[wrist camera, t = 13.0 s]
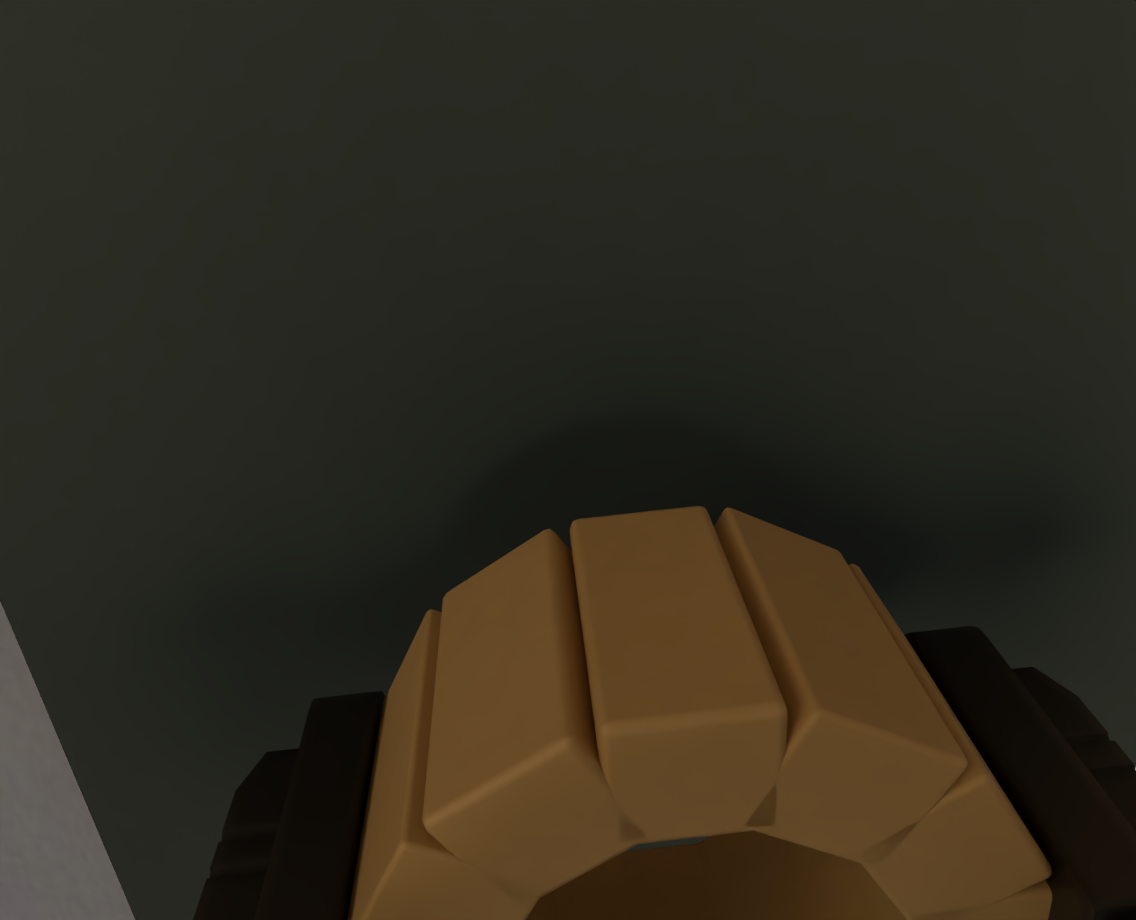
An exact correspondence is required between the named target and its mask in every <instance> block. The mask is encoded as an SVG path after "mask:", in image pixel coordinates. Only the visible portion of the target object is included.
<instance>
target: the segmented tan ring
mask: <svg viewBox="0 0 1136 920" xmlns="http://www.w3.org/2000/svg"><path fill="white" fill-rule="evenodd" d="M570 539H571V549H572V552H571V551H570V549H569V548H568V547H567V546H566V545H565V543H564V542H563V541H562V540H561V539H560V537H559V536H558V535H557V534H556V533H555V532H554V531H552V530H551V529H546V530H543V531H542V532H540V533H539V534H537V535H536V536H534V537H533V538H531V539H529V540H528V541H526V542H525V543H523V544H522V545H520V546H519V547H517V548H515V549H514V550H512V551H511V552H509V553H508V554H506V555H505V556H503V557H502V558H500V559H498V560H497V561H495V562H494V563H492V564H491V565H489V566H488V567H486V568H484V569H483V570H481V571H480V572H478V573H477V574H475V575H474V576H472V577H470V578H469V579H467V580H466V581H464V582H463V583H461V584H460V585H458V586H456V587H455V588H453V589H452V590H450V591H449V592H447V593H446V595H445V596H444V598H443V603H442V612H439V611H436V610H433V609H430V610H429V611H428V612H427V613H426V614H425V616H424V618H423V620H422V623H421V625H420V627H419V629H418V631H417V633H416V635H415V637H414V639H413V641H412V643H411V646H410V648H409V650H408V652H407V654H406V656H405V658H404V660H403V662H402V664H401V666H400V669H399V671H398V673H397V675H396V677H395V679H394V681H393V683H392V685H391V687H390V689H389V692H388V694H387V696H386V698H385V700H384V702H383V705H382V711H381V718H380V724H379V730H378V736H377V742H376V748H375V754H374V760H373V766H372V772H371V778H370V784H369V790H368V796H367V803H366V809H365V815H364V821H363V827H362V833H361V839H360V845H359V851H358V857H357V863H356V869H355V875H354V882H353V888H352V894H351V900H350V906H349V912H348V918H347V920H1048V917H1049V913H1050V908H1051V903H1052V892H1051V890H1050V887H1049V885H1048V884H1047V882H1046V881H1045V879H1047V878H1049V877H1050V876H1051V875H1052V869H1051V865H1050V863H1049V862H1048V860H1047V859H1046V857H1045V855H1044V854H1043V852H1042V851H1041V849H1040V848H1039V846H1038V844H1037V843H1036V841H1035V840H1034V838H1033V837H1032V835H1031V833H1030V832H1029V830H1028V829H1027V827H1026V826H1025V824H1024V822H1023V821H1022V819H1021V818H1020V816H1019V815H1018V813H1017V811H1016V810H1015V808H1014V807H1013V805H1012V803H1011V802H1010V800H1009V799H1008V797H1007V796H1006V794H1005V792H1004V791H1003V789H1002V788H1001V786H1000V785H999V783H998V781H997V780H996V778H995V777H994V775H993V774H992V772H991V770H990V769H989V767H988V766H987V764H986V763H985V761H984V759H983V758H982V756H981V755H980V753H979V751H978V750H977V748H976V747H975V745H974V744H973V742H972V740H971V739H970V737H969V736H968V734H967V733H966V731H965V729H964V728H963V726H962V725H961V723H960V722H959V720H958V718H957V717H956V715H955V714H954V712H953V711H952V709H951V707H950V706H949V704H948V703H947V701H946V699H945V698H944V696H943V695H942V693H941V692H940V690H939V688H938V687H937V685H936V684H935V682H934V681H933V679H932V677H931V676H930V674H929V673H928V671H927V670H926V668H925V666H924V665H923V663H922V662H921V660H920V658H919V657H918V655H917V654H916V652H915V651H914V649H913V647H912V646H911V644H910V643H909V641H908V640H907V638H906V637H905V635H904V634H903V632H902V631H901V629H900V628H899V626H898V625H897V623H896V622H895V620H894V619H893V617H892V616H891V614H890V613H889V611H888V610H887V608H886V607H885V605H884V604H883V602H882V601H881V599H880V598H879V596H878V595H877V593H876V592H875V590H874V589H873V587H872V586H871V584H870V583H869V581H868V580H867V578H866V577H865V575H864V574H863V572H862V571H861V569H860V568H859V567H858V566H857V565H855V564H849V565H848V564H847V563H846V561H845V559H844V558H843V556H842V555H841V553H840V552H839V551H838V550H836V549H833V548H831V547H828V546H826V545H823V544H821V543H818V542H816V541H813V540H811V539H808V538H806V537H803V536H800V535H798V534H795V533H793V532H790V531H788V530H785V529H783V528H780V527H778V526H775V525H773V524H770V523H768V522H765V521H763V520H760V519H758V518H755V517H753V516H750V515H747V514H745V513H742V512H740V511H737V510H735V509H732V508H726V509H724V511H723V512H722V514H721V516H720V517H719V519H718V521H717V522H716V524H715V526H713V523H712V521H711V518H710V516H709V514H708V512H707V510H706V508H704V507H701V506H691V507H682V508H673V509H663V510H654V511H645V512H636V513H626V514H617V515H608V516H599V517H589V518H580V519H577V520H574V521H573V522H572V524H571V527H570ZM705 836H709V837H707V838H706V839H704V840H702V841H700V842H698V843H695V844H686V845H678V846H669V847H660V848H652V849H643V850H634V851H626V850H628V849H630V848H632V847H634V846H636V845H637V844H645V843H653V842H662V841H671V840H679V839H688V838H697V837H705ZM625 851H626V852H625Z"/></svg>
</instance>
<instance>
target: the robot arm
mask: <svg viewBox="0 0 1136 920" xmlns="http://www.w3.org/2000/svg"><path fill="white" fill-rule="evenodd" d="M905 637H906V638H907V640H908V641H909V643H910V644H911V646H912V647H913V649H914V651H915V652H916V654H917V655H918V657H919V658H920V660H921V662H922V663H923V665H924V666H925V668H926V670H927V671H928V673H929V674H930V676H931V677H932V679H933V681H934V682H935V684H936V685H937V687H938V688H939V690H940V692H941V693H942V695H943V696H944V698H945V699H946V701H947V703H948V704H949V706H950V707H951V709H952V711H953V712H954V714H955V715H956V717H957V718H958V720H959V722H960V723H961V725H962V726H963V728H964V729H965V731H966V733H967V734H968V736H969V737H970V739H971V740H972V742H973V744H974V745H975V747H976V748H977V750H978V751H979V753H980V755H981V756H982V758H983V759H984V761H985V763H986V764H987V766H988V767H989V769H990V770H991V772H992V774H993V775H994V777H995V778H996V780H997V781H998V783H999V785H1000V786H1001V788H1002V789H1003V791H1004V792H1005V794H1006V796H1007V797H1008V799H1009V800H1010V802H1011V803H1012V805H1013V807H1014V808H1015V810H1016V811H1017V813H1018V815H1019V816H1020V818H1021V819H1022V821H1023V822H1024V824H1025V826H1026V827H1027V829H1028V830H1029V832H1030V833H1031V835H1032V837H1033V838H1034V840H1035V841H1036V843H1037V844H1038V846H1039V848H1040V849H1041V851H1042V852H1043V854H1044V855H1045V857H1046V859H1047V860H1048V862H1049V863H1050V865H1051V869H1052V875H1051V876H1050V877H1049V878H1047V879H1045V881H1046V882H1047V884H1048V885H1049V887H1050V890H1051V892H1052V903H1051V908H1050V913H1049V917H1048V920H1136V771H1135V768H1134V763H1133V762H1132V761H1131V760H1130V758H1129V757H1128V756H1127V755H1126V754H1125V752H1124V751H1123V750H1122V749H1121V748H1120V746H1119V745H1118V744H1117V743H1116V742H1115V740H1113V741H1110V739H1109V736H1108V732H1107V731H1106V729H1105V728H1104V727H1103V726H1102V725H1101V723H1100V722H1099V721H1098V720H1097V719H1096V717H1095V716H1094V715H1093V714H1092V713H1091V711H1090V710H1089V709H1088V708H1087V707H1086V705H1085V704H1084V703H1083V702H1082V701H1081V699H1080V698H1079V697H1078V696H1077V695H1076V694H1074V693H1072V692H1071V691H1069V690H1068V689H1066V688H1065V687H1063V686H1062V685H1060V684H1059V683H1057V682H1056V681H1054V680H1053V679H1051V678H1050V677H1048V676H1047V675H1045V674H1044V673H1042V672H1040V671H1039V670H1037V669H1036V668H1034V667H1024V668H1015V669H1011V668H1010V666H1009V665H1008V664H1007V662H1006V661H1005V660H1004V658H1003V657H1002V656H1001V654H1000V653H999V652H998V651H997V649H996V648H995V647H994V645H993V644H992V643H991V641H990V640H989V639H988V637H987V636H986V635H985V634H984V633H983V631H982V630H980V629H979V628H978V627H975V626H965V627H956V628H947V629H938V630H929V631H920V632H911V633H907V634H905ZM385 698H386V697H385V695H384V693H383V692H382V691H374V692H365V693H356V694H348V695H339V696H330V697H321V698H315V699H314V700H313V701H312V703H311V705H310V708H309V712H308V715H307V719H306V723H305V727H304V731H303V734H302V738H301V742H300V746H299V748H297V749H288V750H279V751H271V752H266V754H265V755H264V756H263V757H262V759H261V760H260V761H259V762H258V763H257V765H256V766H255V767H254V768H253V770H252V771H251V772H250V773H249V775H248V776H247V777H246V778H245V779H244V781H243V782H242V783H241V784H240V786H239V787H238V788H237V789H236V791H235V794H234V797H233V800H232V803H231V806H230V809H229V812H228V815H227V818H226V821H225V824H224V827H223V830H222V833H221V834H222V841H221V842H218V845H217V848H216V851H215V854H214V858H213V861H212V864H211V867H210V878H208V879H206V882H205V885H204V888H203V891H202V894H201V897H200V900H199V903H198V906H197V909H196V912H195V915H194V918H193V920H347V918H348V912H349V906H350V900H351V894H352V888H353V882H354V875H355V869H356V863H357V857H358V851H359V845H360V839H361V833H362V827H363V821H364V815H365V809H366V803H367V796H368V790H369V784H370V778H371V772H372V766H373V760H374V754H375V748H376V742H377V736H378V730H379V724H380V718H381V711H382V705H383V702H384V700H385Z"/></svg>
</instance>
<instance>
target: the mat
mask: <svg viewBox="0 0 1136 920" xmlns="http://www.w3.org/2000/svg"><path fill="white" fill-rule="evenodd" d="M691 506H701V507H704V508H706V510H707V512H708V514H709V516H710V518H711V521H712V523H713V526H715V524H716V522H717V521H718V519H719V517H720V516H721V514H722V512H723V511H724V509H726V508H732V509H735V510H737V511H740V512H742V513H745V514H747V515H750V516H753V517H755V518H758V519H760V520H763V521H765V522H768V523H770V524H773V525H775V526H778V527H780V528H783V529H785V530H788V531H790V532H793V533H795V534H798V535H800V536H803V537H806V538H808V539H811V540H813V541H816V542H818V543H821V544H823V545H826V546H828V547H831V548H833V549H836V550H838V551H839V552H840V553H841V555H842V556H843V558H844V559H845V561H846V563H847V564H848V565H849V564H855V565H857V566H858V567H859V568H860V569H861V571H862V572H863V574H864V575H865V577H866V578H867V580H868V581H869V583H870V584H871V586H872V587H873V589H874V590H875V592H876V593H877V595H878V596H879V598H880V599H881V601H882V602H883V604H884V605H885V607H886V608H887V610H888V611H889V613H890V614H891V616H892V617H893V619H894V620H895V622H896V623H897V625H898V626H899V628H900V629H901V631H902V632H903V634H904V635H905V634H907V633H911V632H920V631H929V630H938V629H947V628H956V627H965V626H975V627H978V628H979V629H980V630H982V631H983V633H984V634H985V635H986V636H987V637H988V639H989V640H990V641H991V643H992V644H993V645H994V647H995V648H996V649H997V651H998V652H999V653H1000V654H1001V656H1002V657H1003V658H1004V660H1005V661H1006V662H1007V664H1008V665H1009V666H1010V668H1011V669H1015V668H1024V667H1034V668H1036V669H1037V670H1039V671H1040V672H1042V673H1044V674H1045V675H1047V676H1048V677H1050V678H1051V679H1053V680H1054V681H1056V682H1057V683H1059V684H1060V685H1062V686H1063V687H1065V688H1066V689H1068V690H1069V691H1071V692H1072V693H1074V694H1076V695H1077V696H1078V697H1079V698H1080V699H1081V701H1082V702H1083V703H1084V704H1085V705H1086V707H1087V708H1088V709H1089V710H1090V711H1091V713H1092V714H1093V715H1094V716H1095V717H1096V719H1097V720H1098V721H1099V722H1100V723H1101V725H1102V726H1103V727H1104V728H1105V729H1106V731H1107V732H1108V736H1109V739H1110V741H1113V740H1115V742H1116V743H1117V744H1118V745H1119V746H1120V748H1121V749H1122V750H1123V751H1124V752H1125V754H1126V755H1127V756H1128V757H1129V758H1130V760H1131V761H1132V762H1133V763H1134V768H1135V767H1136V0H0V601H1V604H2V606H3V608H4V611H5V613H6V615H7V618H8V620H9V622H10V625H11V627H12V630H13V632H14V634H15V637H16V639H17V641H18V644H19V646H20V648H21V651H22V653H23V655H24V658H25V660H26V663H27V665H28V667H29V670H30V672H31V674H32V677H33V679H34V681H35V684H36V686H37V688H38V691H39V693H40V696H41V698H42V700H43V703H44V705H45V707H46V710H47V712H48V714H49V717H50V719H51V722H52V724H53V726H54V729H55V731H56V733H57V736H58V738H59V740H60V743H61V745H62V747H63V750H64V752H65V755H66V757H67V759H68V762H69V764H70V766H71V769H72V771H73V773H74V776H75V778H76V780H77V783H78V785H79V788H80V790H81V792H82V795H83V797H84V799H85V802H86V804H87V806H88V809H89V811H90V813H91V816H92V818H93V821H94V823H95V825H96V828H97V830H98V832H99V835H100V837H101V839H102V842H103V844H104V846H105V849H106V851H107V854H108V856H109V858H110V861H111V863H112V865H113V868H114V870H115V872H116V875H117V877H118V879H119V882H120V884H121V887H122V889H123V891H124V894H125V896H126V898H127V901H128V903H129V905H130V908H131V910H132V913H133V915H134V917H135V920H193V918H194V915H195V912H196V909H197V906H198V903H199V900H200V897H201V894H202V891H203V888H204V885H205V882H206V879H208V878H210V867H211V864H212V861H213V858H214V854H215V851H216V848H217V845H218V842H221V841H222V834H221V833H222V830H223V827H224V824H225V821H226V818H227V815H228V812H229V809H230V806H231V803H232V800H233V797H234V794H235V791H236V789H237V788H238V787H239V786H240V784H241V783H242V782H243V781H244V779H245V778H246V777H247V776H248V775H249V773H250V772H251V771H252V770H253V768H254V767H255V766H256V765H257V763H258V762H259V761H260V760H261V759H262V757H263V756H264V755H265V754H266V752H271V751H279V750H288V749H297V748H299V746H300V742H301V738H302V734H303V731H304V727H305V723H306V719H307V715H308V712H309V708H310V705H311V703H312V701H313V700H314V699H315V698H321V697H330V696H339V695H348V694H356V693H365V692H374V691H382V692H383V693H384V695H385V697H386V696H387V694H388V692H389V689H390V687H391V685H392V683H393V681H394V679H395V677H396V675H397V673H398V671H399V669H400V666H401V664H402V662H403V660H404V658H405V656H406V654H407V652H408V650H409V648H410V646H411V643H412V641H413V639H414V637H415V635H416V633H417V631H418V629H419V627H420V625H421V623H422V620H423V618H424V616H425V614H426V613H427V612H428V611H429V610H430V609H433V610H436V611H439V612H442V603H443V598H444V596H445V595H446V593H447V592H449V591H450V590H452V589H453V588H455V587H456V586H458V585H460V584H461V583H463V582H464V581H466V580H467V579H469V578H470V577H472V576H474V575H475V574H477V573H478V572H480V571H481V570H483V569H484V568H486V567H488V566H489V565H491V564H492V563H494V562H495V561H497V560H498V559H500V558H502V557H503V556H505V555H506V554H508V553H509V552H511V551H512V550H514V549H515V548H517V547H519V546H520V545H522V544H523V543H525V542H526V541H528V540H529V539H531V538H533V537H534V536H536V535H537V534H539V533H540V532H542V531H543V530H546V529H551V530H552V531H554V532H555V533H556V534H557V535H558V536H559V537H560V539H561V540H562V541H563V542H564V543H565V545H566V546H567V547H568V548H569V549H570V551H571V552H572V549H571V539H570V527H571V524H572V522H573V521H574V520H577V519H580V518H589V517H599V516H608V515H617V514H626V513H636V512H645V511H654V510H663V509H673V508H682V507H691ZM707 837H709V836H705V837H697V838H688V839H679V840H671V841H662V842H653V843H645V844H637V845H636V846H634V847H632V848H630V849H628V850H626V851H634V850H643V849H652V848H660V847H669V846H678V845H686V844H695V843H698V842H700V841H702V840H704V839H706V838H707ZM626 851H625V852H626Z"/></svg>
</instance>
